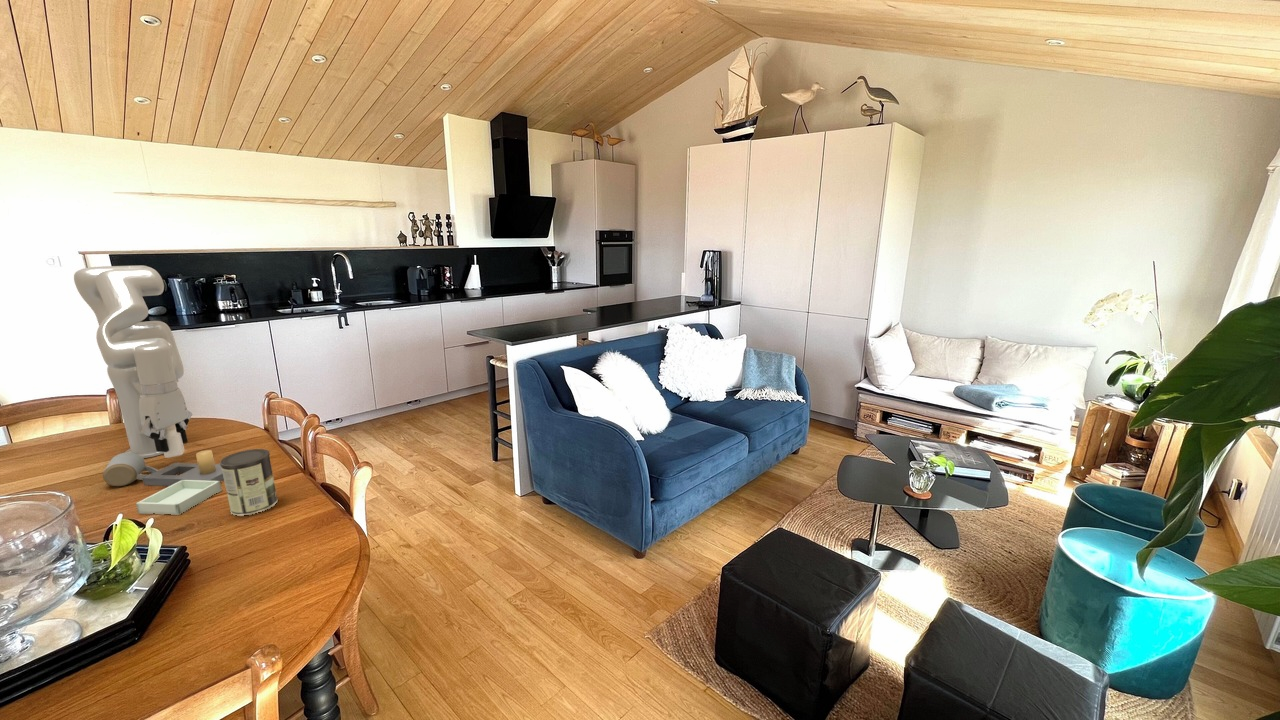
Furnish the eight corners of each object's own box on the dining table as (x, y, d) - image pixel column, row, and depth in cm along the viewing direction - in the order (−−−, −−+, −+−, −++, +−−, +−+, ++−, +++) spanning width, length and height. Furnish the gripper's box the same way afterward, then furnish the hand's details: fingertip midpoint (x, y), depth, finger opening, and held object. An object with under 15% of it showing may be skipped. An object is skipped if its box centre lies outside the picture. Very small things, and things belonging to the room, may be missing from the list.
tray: (184, 489, 146) (182, 479, 145) (221, 490, 145) (219, 480, 144) (138, 513, 133) (135, 503, 132) (179, 515, 132) (176, 504, 132)
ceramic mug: (104, 490, 144) (98, 465, 143) (113, 479, 151) (107, 454, 149) (154, 482, 150) (149, 457, 148) (161, 471, 157) (156, 447, 155)
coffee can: (259, 494, 143) (251, 446, 140) (287, 500, 140) (278, 451, 137) (219, 512, 134) (209, 461, 131) (248, 519, 131) (238, 468, 127)
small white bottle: (182, 455, 150) (174, 424, 148) (164, 459, 148) (156, 427, 146) (185, 451, 154) (178, 420, 152) (167, 454, 152) (159, 423, 150)
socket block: (176, 469, 158) (170, 444, 156) (239, 471, 156) (234, 446, 155) (144, 485, 148) (137, 458, 146) (211, 487, 147) (205, 460, 145)
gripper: (175, 377, 154) (186, 434, 159) (115, 396, 138) (130, 459, 143) (199, 379, 154) (210, 436, 159) (142, 398, 138) (156, 460, 142)
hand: (172, 446), depth 151 cm, fingers closed on small white bottle, 5 cm apart
